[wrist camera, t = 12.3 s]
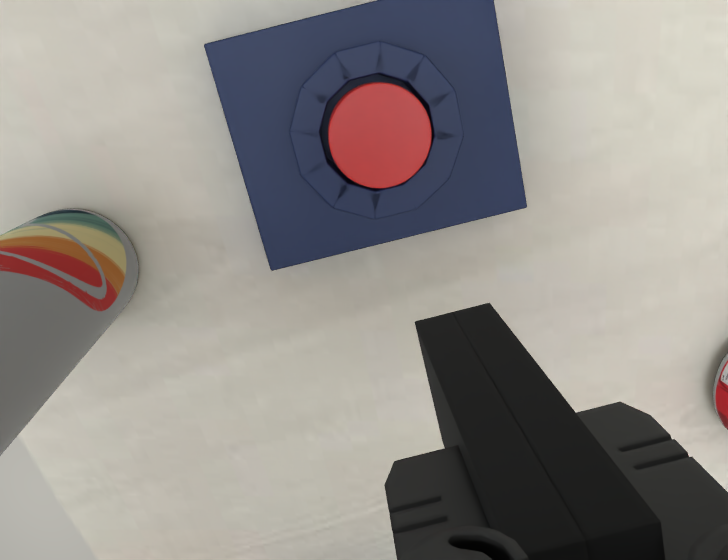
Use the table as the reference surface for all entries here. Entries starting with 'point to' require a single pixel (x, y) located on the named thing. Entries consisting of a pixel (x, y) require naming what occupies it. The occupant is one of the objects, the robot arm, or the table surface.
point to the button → (379, 134)
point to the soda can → (722, 392)
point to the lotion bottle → (56, 304)
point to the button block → (330, 83)
